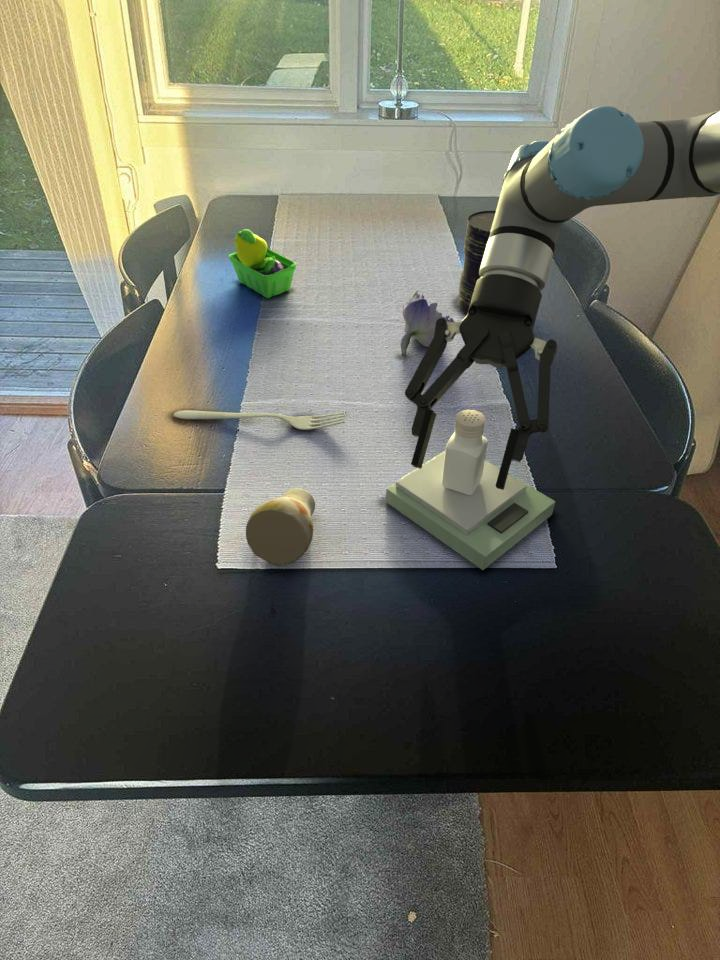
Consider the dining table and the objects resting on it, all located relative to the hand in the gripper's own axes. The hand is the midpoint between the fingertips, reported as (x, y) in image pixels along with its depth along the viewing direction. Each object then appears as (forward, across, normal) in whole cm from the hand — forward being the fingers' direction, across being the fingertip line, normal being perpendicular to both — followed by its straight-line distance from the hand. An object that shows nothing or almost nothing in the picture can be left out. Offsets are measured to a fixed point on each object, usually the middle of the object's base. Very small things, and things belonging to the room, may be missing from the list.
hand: (457, 476), depth 78 cm
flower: (-21, +16, -31) cm, 41 cm away
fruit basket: (-28, +49, -37) cm, 68 cm away
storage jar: (-34, +10, -44) cm, 56 cm away
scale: (+3, -1, -6) cm, 7 cm away
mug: (+12, +17, +2) cm, 21 cm away
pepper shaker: (0, 0, -5) cm, 5 cm away
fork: (-1, +30, -11) cm, 32 cm away
